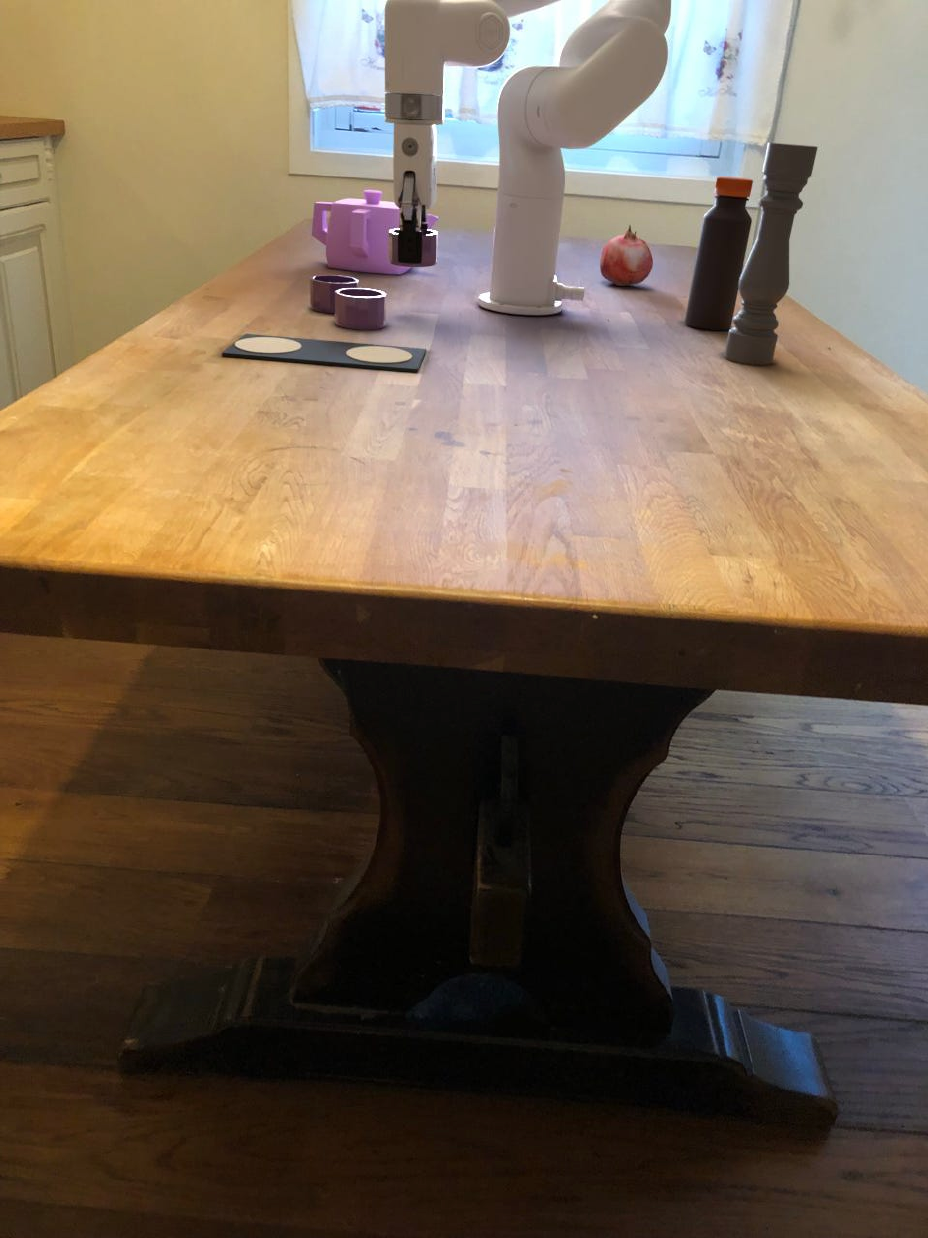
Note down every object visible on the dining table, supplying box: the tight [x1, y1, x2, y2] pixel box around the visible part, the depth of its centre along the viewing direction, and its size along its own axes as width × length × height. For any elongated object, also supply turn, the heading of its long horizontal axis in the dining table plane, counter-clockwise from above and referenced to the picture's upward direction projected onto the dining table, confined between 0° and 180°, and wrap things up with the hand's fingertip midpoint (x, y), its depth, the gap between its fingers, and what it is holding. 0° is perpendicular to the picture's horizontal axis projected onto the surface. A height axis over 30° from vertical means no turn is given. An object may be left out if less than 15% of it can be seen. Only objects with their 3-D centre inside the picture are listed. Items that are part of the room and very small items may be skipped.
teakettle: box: [311, 189, 439, 275], centre depth 164 cm, size 17×17×12 cm
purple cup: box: [309, 274, 360, 315], centre depth 132 cm, size 6×7×4 cm
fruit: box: [599, 224, 654, 287], centre depth 167 cm, size 9×10×10 cm
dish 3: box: [389, 229, 439, 268], centre depth 129 cm, size 6×7×4 cm
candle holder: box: [723, 142, 819, 366], centre depth 117 cm, size 6×6×25 cm
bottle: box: [684, 176, 754, 331], centre depth 136 cm, size 7×7×20 cm
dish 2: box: [334, 287, 387, 331], centre depth 125 cm, size 6×7×4 cm
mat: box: [221, 333, 427, 374], centre depth 110 cm, size 22×10×1 cm, turn 86°
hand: (413, 256), depth 130 cm, fingers closed on dish 3, 6 cm apart
